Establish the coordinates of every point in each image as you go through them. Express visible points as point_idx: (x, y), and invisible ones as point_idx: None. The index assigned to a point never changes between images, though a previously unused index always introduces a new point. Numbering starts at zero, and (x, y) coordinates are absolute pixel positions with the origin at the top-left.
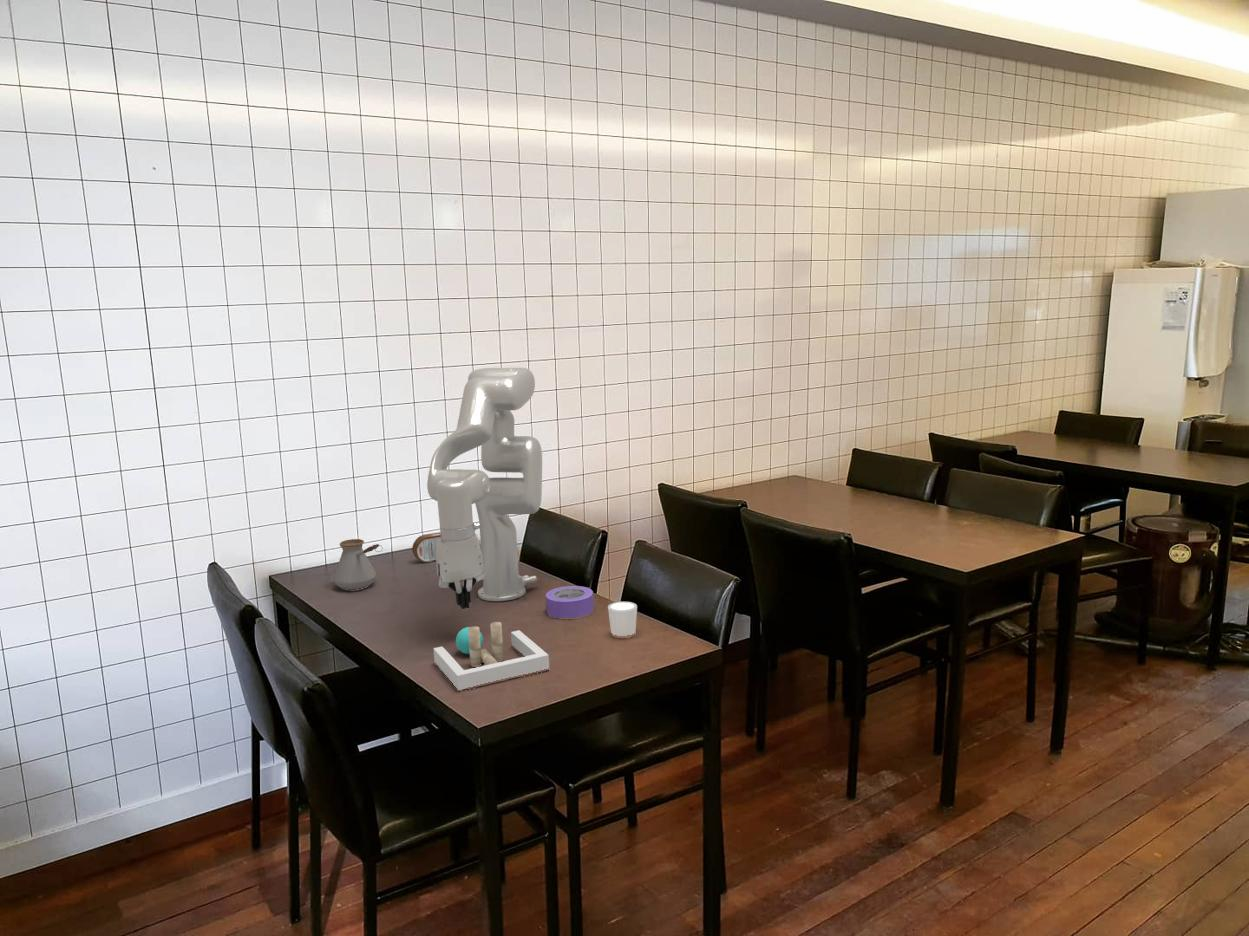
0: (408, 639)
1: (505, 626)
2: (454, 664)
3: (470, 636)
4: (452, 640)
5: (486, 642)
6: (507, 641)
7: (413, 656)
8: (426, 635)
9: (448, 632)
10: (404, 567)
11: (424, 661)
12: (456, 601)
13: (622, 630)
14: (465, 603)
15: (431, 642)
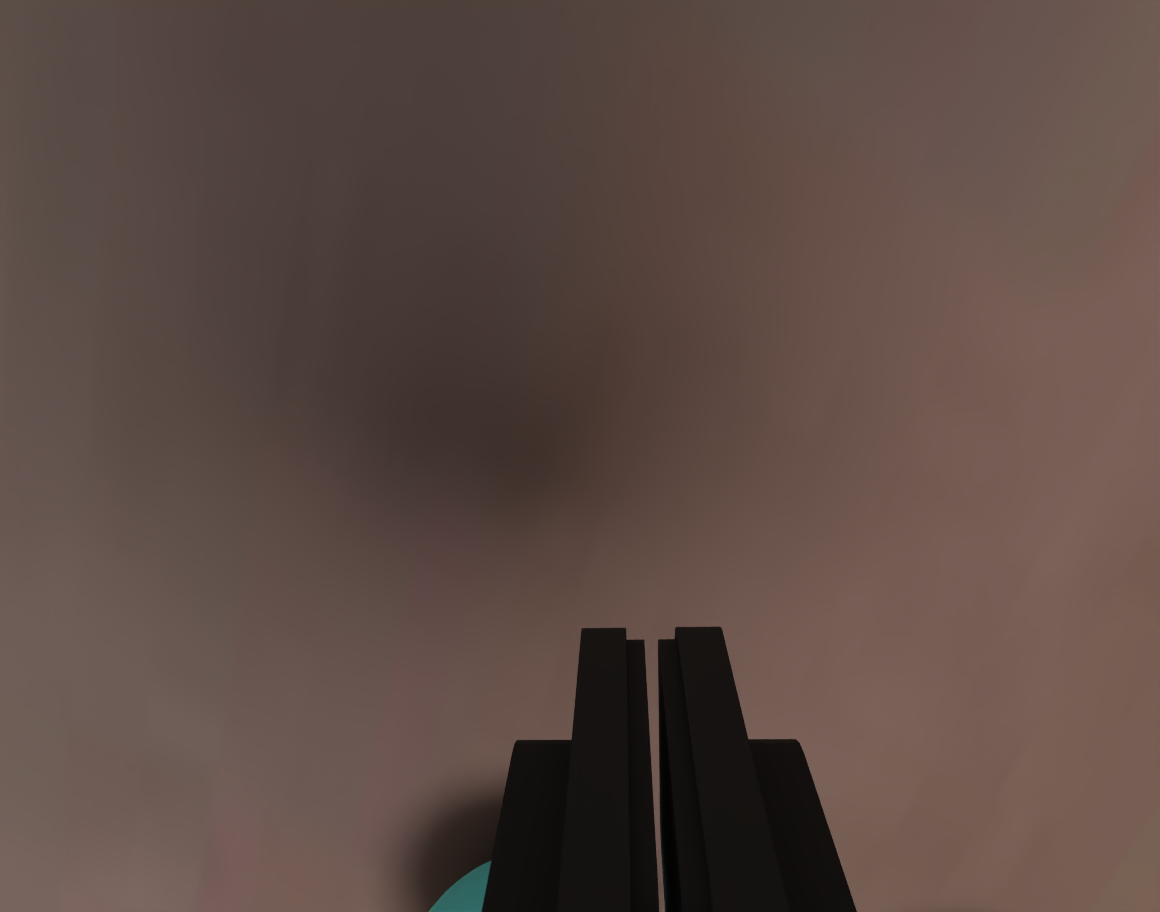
0: (11, 250)
1: (1126, 424)
2: None
3: None
4: (470, 530)
5: None
6: (941, 811)
7: (43, 728)
8: (226, 230)
9: (486, 269)
10: None
11: (132, 871)
12: (512, 764)
13: None
14: (663, 883)
15: (252, 474)
